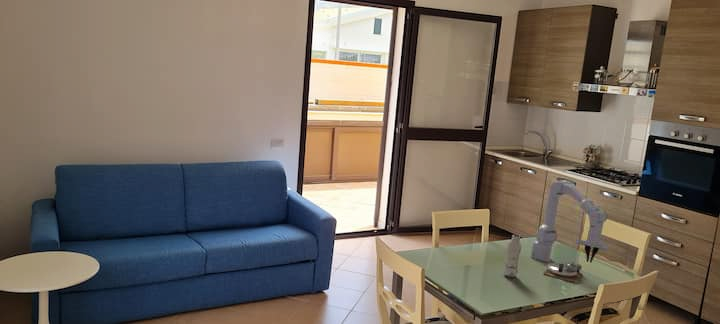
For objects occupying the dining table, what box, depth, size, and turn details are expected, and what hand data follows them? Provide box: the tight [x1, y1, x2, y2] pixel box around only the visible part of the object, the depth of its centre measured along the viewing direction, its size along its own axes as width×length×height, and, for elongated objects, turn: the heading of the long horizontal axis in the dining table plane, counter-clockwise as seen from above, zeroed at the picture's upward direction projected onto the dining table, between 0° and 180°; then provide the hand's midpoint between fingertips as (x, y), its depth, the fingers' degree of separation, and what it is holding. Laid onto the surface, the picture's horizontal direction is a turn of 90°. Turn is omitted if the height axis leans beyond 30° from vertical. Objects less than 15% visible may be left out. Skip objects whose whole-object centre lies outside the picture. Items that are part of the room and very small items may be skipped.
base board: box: [543, 263, 583, 285], centre depth 274 cm, size 16×16×5 cm
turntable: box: [546, 262, 577, 277], centre depth 275 cm, size 14×14×6 cm
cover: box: [565, 261, 577, 272], centre depth 273 cm, size 5×5×4 cm
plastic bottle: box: [502, 234, 522, 278], centre depth 262 cm, size 6×7×20 cm
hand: (589, 261), depth 268 cm, fingers closed
